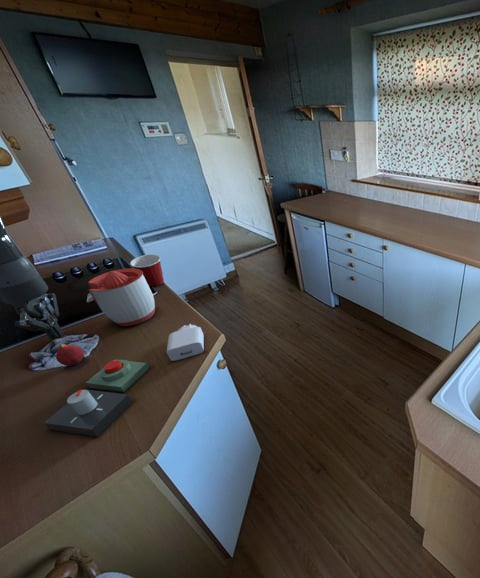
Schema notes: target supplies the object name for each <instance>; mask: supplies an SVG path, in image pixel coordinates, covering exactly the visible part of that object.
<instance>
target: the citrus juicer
mask: <svg viewBox="0 0 480 578" xmlns="http://www.w3.org/2000/svg"><path fill="white" fill-rule="evenodd" d="M87 283H88V285H89V287H90V288H89V289H88V291H89V292H88V294H87V299H86V303H91V302H93V301H94V302H95V303H96V304H97V305H98V307H99V308H100V310H101V311H102V312H103V314H104V315H105V316H106V317H107V318H109V319H110V320H111V321H112V322H113V323H114V324H117V325H118V326H121V327H131V326H135V325H139V324H141V323H144V322H145V321H147V320H150V319H151V318H152V317H153V316H154V314H155V311H156V303H155V297H154V295H153V292H152V290H151V288H150V286H149V285H148V284H147V282H146V280H145V278H144V276H143V272H142V271H141V270H140V269H135V268H134V267H129V268H128V267H127V268H121V269H115V270H110V271H108V272H105V273H102V274H100V275H97V276H95V277H93V278H91V279H90V280H89V281H88V282H87Z"/></svg>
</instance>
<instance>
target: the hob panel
mask: <svg viewBox="0 0 480 578" xmlns="http://www.w3.org/2000/svg"><path fill="white" fill-rule="evenodd" d="M83 390H88V391H89V393H90V394H91V395H92V396H93V398H94V399H95V400H96V401H97V403H98V404H97V406H96V408H95V409H94V410H92V411H91V412H89V413H87V414H84V415H78V414H77V413H76V412H75V411H74V410H73V408H72V407H71V406H70V405H69V404H68V403H67V402H66V404H65V405H63V406H62V407H61V408H60V409H58V411H56V412H55V413H54V414H52V415H51V416H50V417H49V418H47V419H46V420H45V421H44V422H43V424H44V425H45V426H46V427H47V428H48V429H49V430H50V431H56V432H63V433H68V434H69V433H70V434H76V435H82V436H83V435H84V436H90V437H95V438H98V437H99V436H100V435H102V433H103V432H104V431H105V430H107V428H108V427H109V426H110V425H111V424H112V423H113V422H114V421H115V420H117V418H118V417H119V416H120V415H121V414H122V413H123V412H124V411H125V410H126V409H127V408H128V407H129V406H130V405H131V404H132V403H133V400H132V398H130V396H129V395H128V394H126V393H118V392H117V393H116V392H111V391H110V392H109V391H102V390H101V391H100V390H93V389H83Z"/></svg>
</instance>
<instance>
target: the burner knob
mask: <svg viewBox="0 0 480 578" xmlns="http://www.w3.org/2000/svg"><path fill="white" fill-rule="evenodd" d="M88 390H89V389H86V390H84V389H81V388H80V389H79V390H78V391H76V392H74V393H71V394H70V395H69V397H68V398H67V399H66V404H67V403H68V404H69V405H70V406H71V407H72V408H73V410H74V411H75V412H76V413H77V414H78V415H84V414H87V413H89V412H91V411H92V410H94V409H95V408H96V406H97V404H98V403H97V401H96V400H95V399H94V398H93V396H92V395H91V394H90V393H89V391H88Z"/></svg>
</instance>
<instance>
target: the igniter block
mask: <svg viewBox="0 0 480 578" xmlns="http://www.w3.org/2000/svg"><path fill="white" fill-rule="evenodd" d="M115 360H116V359H115V358H114V359H113V360H112V361H115ZM117 360H118V361H120V362H121V364H122V366H123V367H122V368H121V369H120V370H119V371H117V372H115V373H111V374H108V373H107V372H106V371H105V369H104V367H103V368H101V369H100V370H99V371H98V372H96V373H95V374H94V375H92V377H90V378H89V379H88V380H87V381H85V384H86V386H87V387H88V388H89V389H96V390H104V391H110V392H111V391H113V392H121V393H125V392H127V390H128V389H129V388H130V387H131V386H132V385H133V384H135V382H137V381H138V380H139V379H140V378H141V377H142V376H143V375H144V374H145V373H146V372H147V371H148V370H149V369H150V366H149V365H148V362H143V361H132V360H127V359H117Z"/></svg>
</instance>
